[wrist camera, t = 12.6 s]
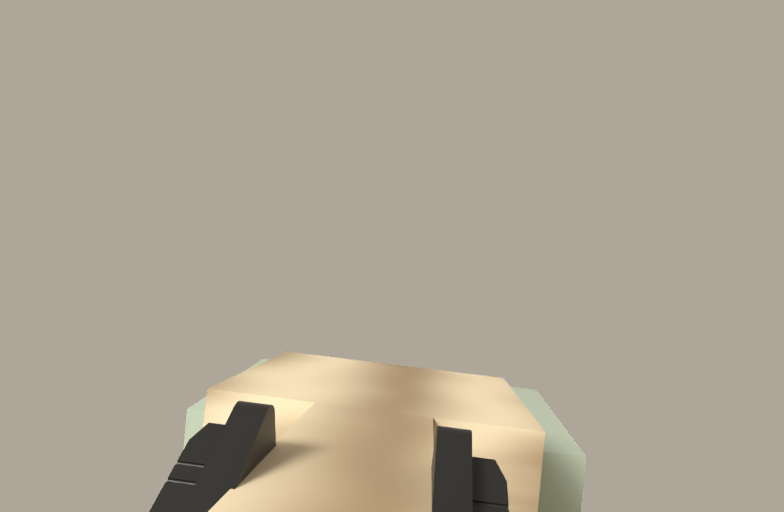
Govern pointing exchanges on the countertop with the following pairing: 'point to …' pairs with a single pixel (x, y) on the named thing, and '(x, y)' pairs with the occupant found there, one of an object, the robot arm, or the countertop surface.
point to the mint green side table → (559, 455)
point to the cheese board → (372, 434)
